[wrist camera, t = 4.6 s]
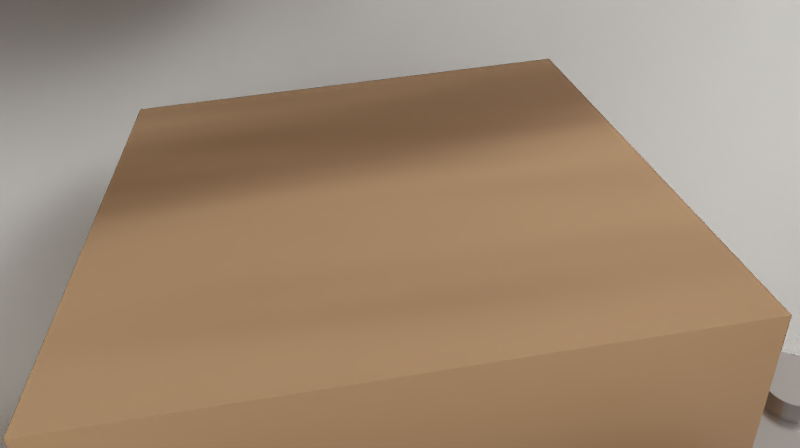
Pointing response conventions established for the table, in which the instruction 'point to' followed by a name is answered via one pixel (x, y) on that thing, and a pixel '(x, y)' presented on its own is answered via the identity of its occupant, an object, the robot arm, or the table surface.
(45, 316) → the table surface
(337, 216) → the walnut block
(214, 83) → the table surface
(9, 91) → the table surface
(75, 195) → the table surface
